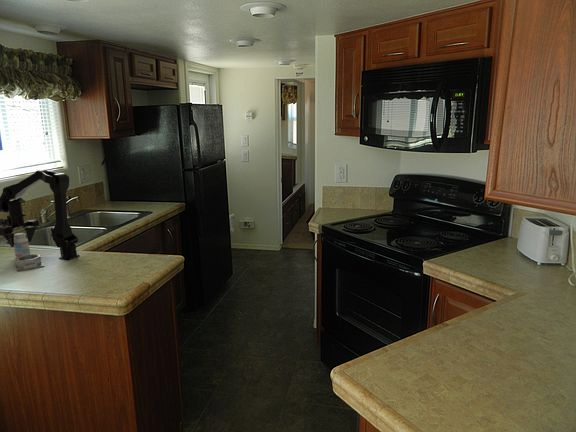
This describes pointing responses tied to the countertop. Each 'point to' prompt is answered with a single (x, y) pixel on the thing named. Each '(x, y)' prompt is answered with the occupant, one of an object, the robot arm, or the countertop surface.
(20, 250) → the pill bottle
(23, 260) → the grey open tray
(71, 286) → the countertop surface
